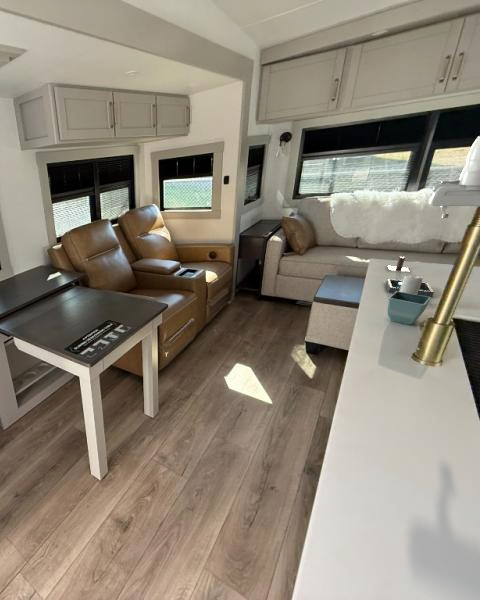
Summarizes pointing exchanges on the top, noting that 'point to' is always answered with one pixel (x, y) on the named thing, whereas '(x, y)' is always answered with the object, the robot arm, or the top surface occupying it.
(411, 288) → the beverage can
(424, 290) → the tray
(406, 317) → the flower pot
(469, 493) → the top surface
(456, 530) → the top surface
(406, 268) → the peg stand
